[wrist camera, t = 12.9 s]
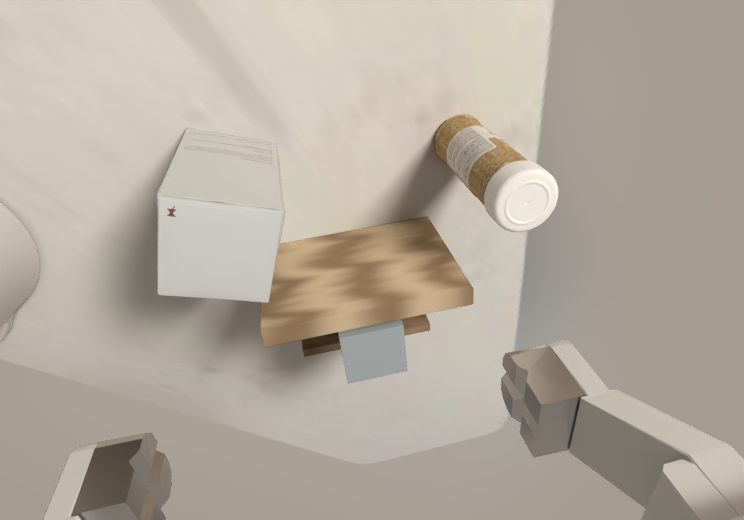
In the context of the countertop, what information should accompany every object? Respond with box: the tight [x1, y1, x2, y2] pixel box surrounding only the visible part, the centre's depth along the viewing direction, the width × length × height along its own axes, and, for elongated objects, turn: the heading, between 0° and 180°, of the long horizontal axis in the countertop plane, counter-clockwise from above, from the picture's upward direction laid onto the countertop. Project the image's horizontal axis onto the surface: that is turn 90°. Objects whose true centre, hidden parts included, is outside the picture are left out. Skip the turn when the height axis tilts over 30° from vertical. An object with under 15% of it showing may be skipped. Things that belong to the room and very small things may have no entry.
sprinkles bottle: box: [435, 115, 558, 232], centre depth 36 cm, size 5×4×13 cm
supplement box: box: [156, 128, 285, 303], centre depth 34 cm, size 7×7×13 cm
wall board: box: [261, 217, 473, 357], centre depth 41 cm, size 16×8×12 cm, turn 96°
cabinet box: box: [338, 319, 407, 384], centre depth 40 cm, size 5×6×7 cm
